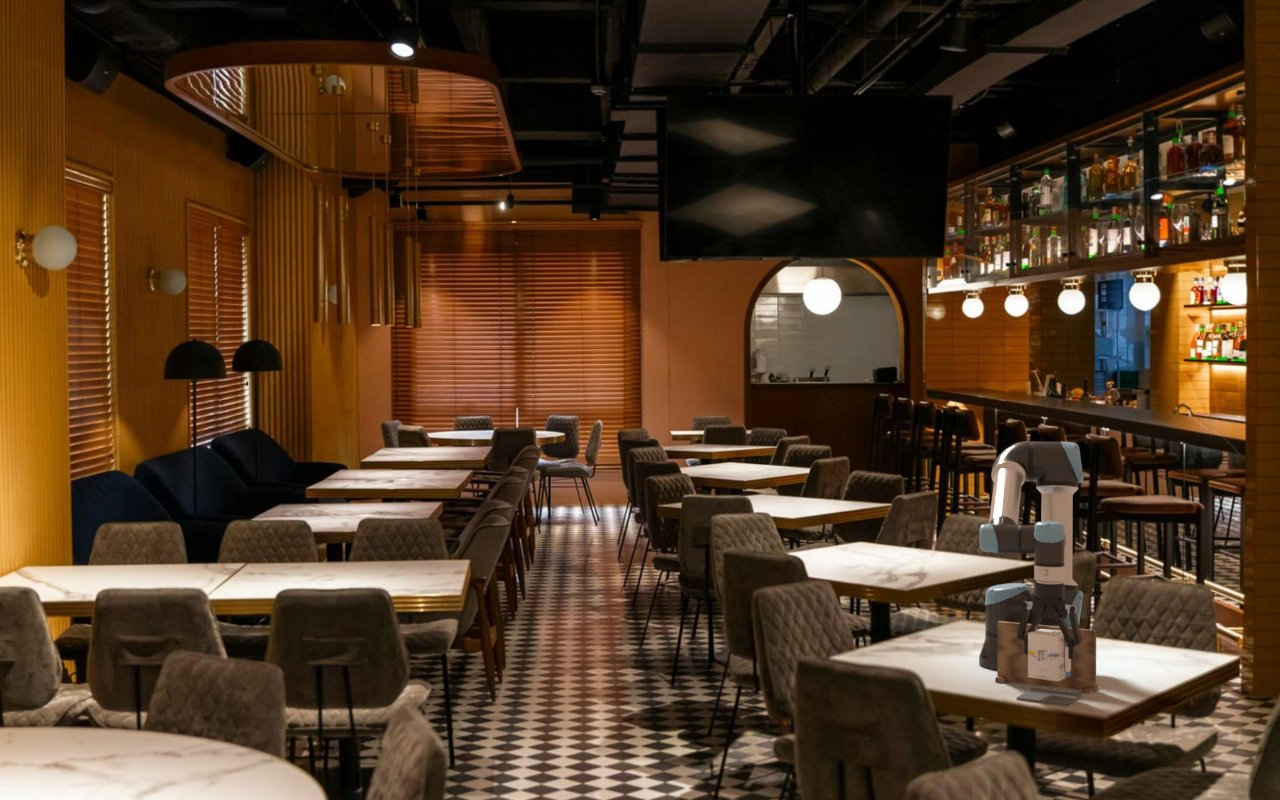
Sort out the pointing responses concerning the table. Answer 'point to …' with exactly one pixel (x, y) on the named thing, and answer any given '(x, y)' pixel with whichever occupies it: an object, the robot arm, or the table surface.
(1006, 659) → the walnut screen
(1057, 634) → the ink box
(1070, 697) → the rubber mat
